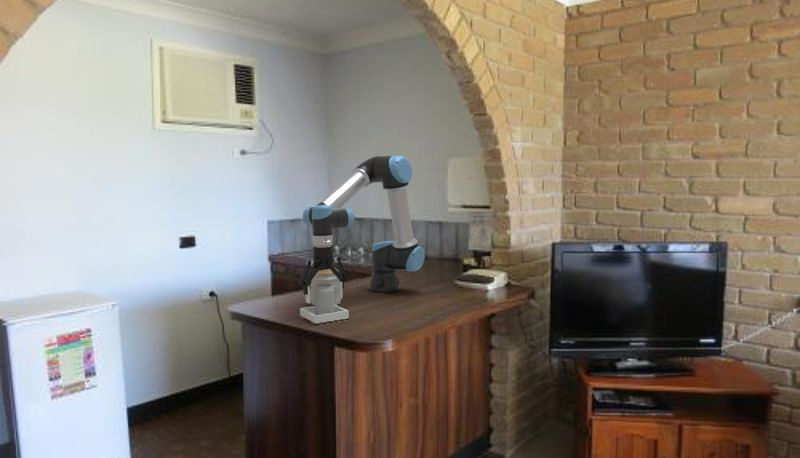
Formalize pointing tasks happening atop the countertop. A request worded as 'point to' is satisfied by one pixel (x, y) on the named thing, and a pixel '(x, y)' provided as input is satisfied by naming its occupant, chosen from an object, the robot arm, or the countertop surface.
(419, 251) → the robot arm
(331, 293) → the can
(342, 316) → the tray
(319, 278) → the jar
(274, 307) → the countertop surface
